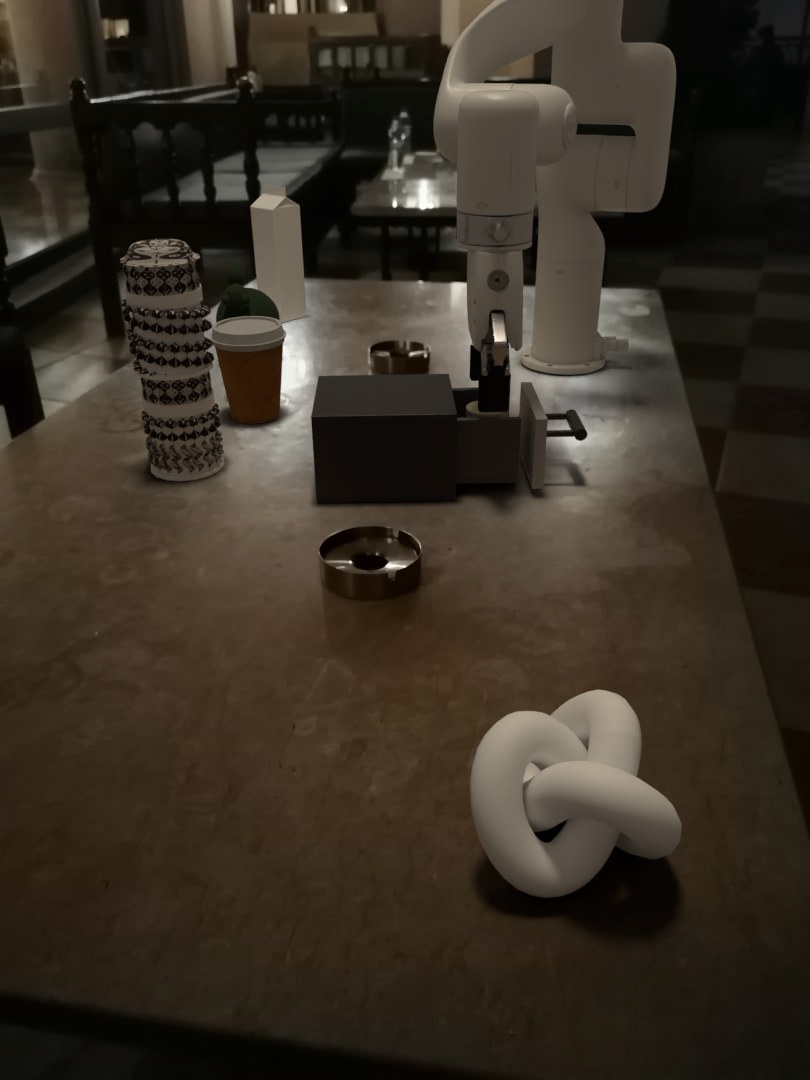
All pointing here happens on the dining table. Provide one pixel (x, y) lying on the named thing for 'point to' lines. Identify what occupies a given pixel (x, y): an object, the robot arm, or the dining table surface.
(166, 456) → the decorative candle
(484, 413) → the cylinder
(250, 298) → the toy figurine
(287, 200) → the milk
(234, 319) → the disposable coffee cup
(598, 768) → the white knot sculpture
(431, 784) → the dining table surface
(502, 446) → the drawer
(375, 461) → the dark gray cabinet
